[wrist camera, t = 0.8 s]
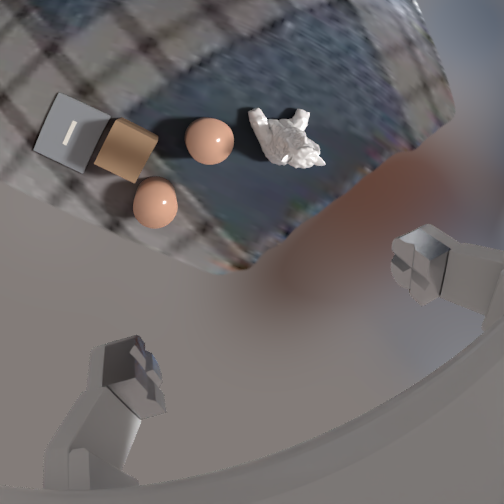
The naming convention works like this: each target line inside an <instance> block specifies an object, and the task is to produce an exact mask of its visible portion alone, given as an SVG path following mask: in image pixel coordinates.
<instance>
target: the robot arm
mask: <svg viewBox="0 0 504 504" xmlns="http://www.w3.org/2000/svg"><path fill="white" fill-rule="evenodd" d="M392 251H393V253H394V254H395V255H394V257H393V259H392V261H391V272H392V275H393V278H394V280H395V281H396V283H397V284H398V285H399V286H400V287H402V288H406V289H409V295H410V296H411V297H413V299H414V300H415V301H416V302H418V303H419V304H420V305H421V306H424V305H426V304H427V303H429V302H431V301H433V300H435V299H436V298H438V297H440V298H442V299H445V300H447V301H450V302H452V303H455V304H457V305H460V306H462V307H465V308H467V309H470V310H472V311H475V312H477V313H480V314H482V315H485V318H484V321H483V323H482V330H483V331H484V333H483V334H482V335H480V336H479V337H478V338H477V339H476V340H475V341H473V342H472V343H471V344H470V345H468V346H467V347H466V348H465V349H463V350H462V351H461V352H459V353H458V354H457V355H455V356H454V357H453V358H451V359H450V360H449V361H448V362H446V363H445V364H443V365H442V366H441V367H439V368H438V369H436V370H435V371H433V372H432V373H431V374H429V375H428V376H426V377H425V378H423V379H422V380H420V381H419V382H417V383H416V384H414V385H413V386H411V387H409V388H408V389H406V390H404V391H403V392H401V393H400V394H398V395H396V396H395V397H393V398H391V399H390V400H388V401H386V402H384V403H383V404H381V405H379V406H377V407H375V408H374V409H372V410H370V411H368V412H366V413H364V414H362V415H360V416H359V417H357V418H355V419H353V420H351V421H349V422H347V423H345V424H343V425H341V426H339V427H336V428H334V429H332V430H330V431H328V432H326V433H323V434H321V435H319V436H317V437H314V438H312V439H310V440H307V441H305V442H302V443H300V444H297V445H295V446H292V447H290V448H287V449H285V450H282V451H279V452H276V453H273V454H271V455H267V456H265V457H262V458H259V459H256V460H252V461H249V462H246V463H243V464H239V465H236V466H233V467H229V468H226V469H222V470H218V471H214V472H210V473H206V474H202V475H197V476H193V477H188V478H183V479H178V480H172V481H167V482H161V483H154V484H147V485H140V486H139V481H138V480H137V479H136V478H134V477H132V476H130V475H128V474H127V473H125V472H123V471H122V469H123V466H124V464H125V461H126V458H127V456H128V453H129V451H130V448H131V446H132V443H133V441H134V438H135V436H136V433H137V431H138V428H139V426H140V423H141V419H145V418H149V417H153V416H156V415H160V414H163V413H166V407H165V399H164V394H163V392H162V391H161V390H160V389H159V388H160V386H161V384H162V374H161V371H160V367H159V365H158V363H157V361H156V359H155V357H154V356H153V354H152V353H150V352H148V351H146V350H145V343H144V341H143V340H142V339H141V337H140V336H139V335H134V336H131V337H127V338H124V339H120V340H117V341H113V342H110V343H107V344H104V345H100V346H97V347H93V349H92V350H91V353H90V361H89V369H88V378H87V387H86V391H85V392H82V393H81V394H80V396H79V397H78V399H77V400H76V402H75V403H74V405H73V406H72V408H71V409H70V411H69V412H68V414H67V416H66V417H65V419H64V420H63V422H62V423H61V425H60V426H59V428H58V429H57V431H56V433H55V434H54V436H53V437H52V439H51V441H50V442H49V444H48V445H47V447H46V449H45V453H44V470H43V489H34V488H23V487H13V486H6V485H0V504H504V251H501V250H496V249H492V248H487V247H482V246H478V245H473V244H468V243H463V244H461V243H459V242H458V241H456V240H455V239H453V238H451V237H450V236H448V235H447V234H445V233H444V232H442V231H441V230H439V229H438V228H436V227H434V226H433V225H431V224H425V225H423V226H421V227H419V228H417V229H416V230H413V231H411V232H409V233H407V234H404V235H402V236H400V237H397V238H395V239H394V240H393V242H392Z"/></svg>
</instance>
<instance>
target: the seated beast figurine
mask: <svg viewBox="0 0 504 504" xmlns="http://www.w3.org/2000/svg"><path fill="white" fill-rule="evenodd" d="M248 116H249V122H250V123H251V127H252V128H253V131H254V132H255V135H256V136H257V139H258V141H259V143H260V145H261V147H262V151H263V152H264V153H265V157H267V158H268V159H269V161H270V162H271V163H274V164H278V165H286V164H287V163H288V164H289V165H291V166H294V167H295V168H298V167H300V168H309V167H311V166H313V165H314V164H315V165H317V166H323V165H326V163H325V162H324V161H323V159H322V158H321V157H320V156H319V155H320V148H319V145H318V144H315V142H313V141H312V140H310V139H308V138H307V137H306V133H305V132H304V130H305V128H306V127H307V125H308V118H309V116H310V113H309V112H305V111H304V110H302V109H298V108H297V110H296V112H295V115H294V116H293V117H292V119H280V120H279V122H278V120H277V119H268V120H267V118H266V117H265V116H264V114H263V112H262V110H261V109H260V108H254V109H253V110H250V111H248ZM269 128H270V129H269Z"/></svg>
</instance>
